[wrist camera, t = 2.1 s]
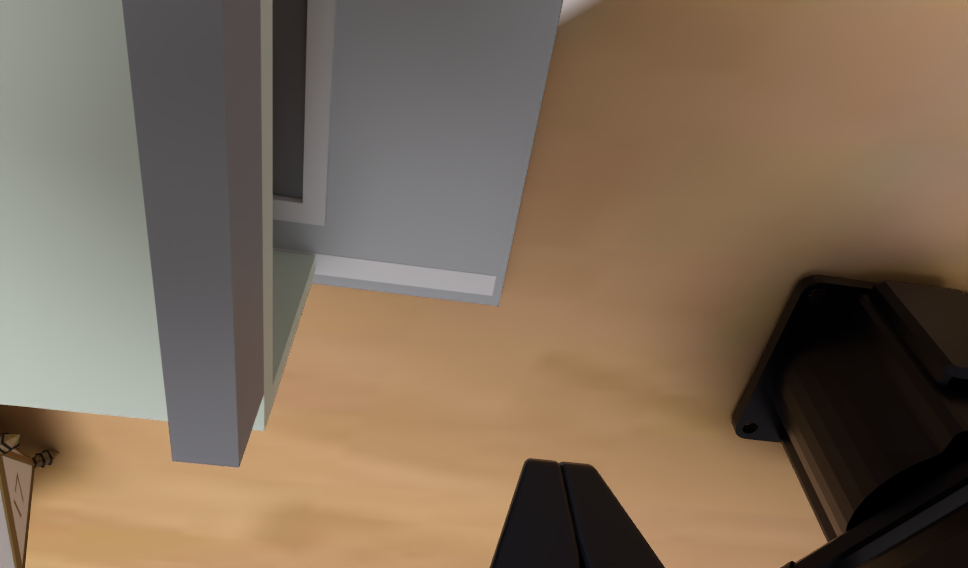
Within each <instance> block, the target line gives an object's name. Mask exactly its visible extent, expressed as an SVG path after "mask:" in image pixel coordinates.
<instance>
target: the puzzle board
mask: <svg viewBox="0 0 968 568" xmlns="http://www.w3.org/2000/svg"><path fill="white" fill-rule="evenodd" d="M562 3H563V0H272V48H273V250H275V251H283V252H291V253H299V254H307V255H315V274H314V277H313V280H312V283H313V284H321V285H330V286H338V287H346V288H354V289H362V290H370V291H379V292H387V293H395V294H403V295H411V296H420V297H428V298H436V299H444V300H452V301H460V302H469V303H477V304H485V305H493V306H499V302H500V297H501V293H502V288H503V283H504V278H505V274H506V269H507V264H508V259H509V255H510V250H511V245H512V240H513V236H514V231H515V226H516V221H517V217H518V212H519V207H520V203H521V198H522V193H523V188H524V184H525V179H526V174H527V169H528V165H529V160H530V155H531V150H532V146H533V141H534V136H535V132H536V127H537V122H538V117H539V113H540V108H541V103H542V98H543V94H544V89H545V84H546V79H547V75H548V70H549V65H550V61H551V56H552V51H553V46H554V42H555V37H556V32H557V27H558V23H559V18H560V13H561V8H562Z"/></svg>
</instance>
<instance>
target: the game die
mask: <svg viewBox="0 0 968 568" xmlns="http://www.w3.org/2000/svg"><path fill="white" fill-rule="evenodd" d="M19 438H20V434H9V433H2V436H0V568H25V560H26V549H27V539H28V529H29V519H30V509H31V499H32V489H33V479H34V469H35V467H42V468H43V467H44V466H45V465H51V463H52V461H53V460H54V458H55V457H56V456H57V454H58V453H59V452H52V451H49V450H44V451H42V453H37V454H35V455H36V456H34V457H33V458H32V459H31V458H30V457H29V456H27V455H26V454H25V453H23V452H22V451H20V450H19V449H18V448H16V447H17V446H19V443H18V442H19Z"/></svg>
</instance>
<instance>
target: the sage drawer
mask: <svg viewBox="0 0 968 568" xmlns="http://www.w3.org/2000/svg"><path fill="white" fill-rule="evenodd" d="M314 274H315V255H307V254H299V253H291V252H283V251H275V250H273V48H272V0H0V404H3V405H13V406H23V407H33V408H43V409H52V410H62V411H72V412H82V413H92V414H101V415H111V416H121V417H131V418H141V419H151V420H160V421H168V425H169V434H170V443H171V452H172V461H177V462H187V463H197V464H208V465H218V466H228V467H239V466H240V463H241V460H242V457H243V454H244V451H245V448H246V445H247V442H248V440H249V437H250V434H251V431H252V430H259V431H265V428H266V424H267V421H268V418H269V415H270V412H271V409H272V406H273V403H274V399H275V396H276V393H277V390H278V387H279V384H280V381H281V377H282V374H283V371H284V368H285V365H286V362H287V359H288V356H289V352H290V349H291V346H292V343H293V340H294V337H295V334H296V330H297V327H298V324H299V321H300V318H301V315H302V312H303V309H304V305H305V302H306V299H307V296H308V293H309V290H310V287H311V283H312V280H313V277H314Z"/></svg>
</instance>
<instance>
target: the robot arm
mask: <svg viewBox="0 0 968 568" xmlns="http://www.w3.org/2000/svg"><path fill="white" fill-rule="evenodd" d="M818 289H820V290H819V291H818V292H817V293H816V294H814V295H811V296H808V295H809V294H810V293H811V292H812V291H814V290H818ZM748 423H751V424H749V425H746V424H748ZM732 424H733V427H734V430H735V432H736V434H737V435H738V436H739V437H741V438H744V439H753V440H762V441H771V442H781V443H782V445H783V447H784V449H785V452H786V454H787V456H788V458H789V460H790V462H791V464H792V467H793V469H794V471H795V473H796V475H797V477H798V479H799V482H800V484H801V486H802V488H803V490H804V492H805V494H806V497H807V499H808V501H809V503H810V505H811V507H812V509H813V512H814V514H815V516H816V518H817V520H818V522H819V524H820V527H821V529H822V531H823V533H824V535H825V537H826V539H827V542H828V543H827V544H825V545H823V546H822V547H820V548H818V549H817V550H815V551H814V552H812V553H810V554H809V555H807V556H805V557H804V558H802V559H801V560H799V561H797V562H796V563H795V562H793V561H791V562H789V563H787V564H786V565H784V566H783V567H781V568H968V295H966V294H964V293H963V292H962V291H960V290H957V289H950V288H942V287H934V286H927V285H919V284H912V283H904V282H897V281H889V280H884V281H879V282H876V283H875V282H867V281H860V280H852V279H845V278H837V277H829V276H822V275H811V276H808V277H805V278H804V279H802V280H801V281H800V282H799V283H798V284H797V286H796V287H795V289H794V291H793V294H792V296H791V298H790V300H789V302H788V304H787V306H786V308H785V310H784V312H783V314H782V316H781V319H780V321H779V323H778V325H777V327H776V329H775V331H774V333H773V335H772V337H771V339H770V341H769V343H768V346H767V348H766V350H765V352H764V354H763V356H762V358H761V360H760V362H759V364H758V366H757V368H756V371H755V373H754V375H753V377H752V379H751V381H750V383H749V385H748V387H747V389H746V391H745V393H744V395H743V398H742V400H741V402H740V404H739V406H738V408H737V410H736V412H735V414H734V416H733V419H732ZM490 568H665V567H664V566H663V564H662V563H661V561H660V560H659V559H658V557H657V556H656V554H655V553H654V551H653V550H652V549H651V547H650V546H649V544H648V543H647V541H646V540H645V538H644V537H643V536H642V534H641V533H640V531H639V530H638V528H637V527H636V526H635V524H634V523H633V521H632V520H631V518H630V517H629V516H628V514H627V513H626V511H625V510H624V508H623V507H622V506H621V504H620V503H619V501H618V500H617V498H616V497H615V496H614V494H613V493H612V491H611V490H610V488H609V487H608V486H607V484H606V483H605V481H604V480H603V478H602V477H601V476H600V474H599V473H598V471H597V470H596V469H595V468H594V467H593V466H591V465H589V464H581V463H572V462H560V463H558V462H557V461H552V460H542V459H532V458H529V459H527V460H526V461H525V462H524V465H523V468H522V471H521V474H520V477H519V480H518V483H517V486H516V489H515V492H514V495H513V498H512V501H511V504H510V507H509V510H508V513H507V516H506V519H505V523H504V526H503V529H502V532H501V535H500V538H499V541H498V544H497V547H496V550H495V553H494V556H493V559H492V562H491V565H490Z"/></svg>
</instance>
